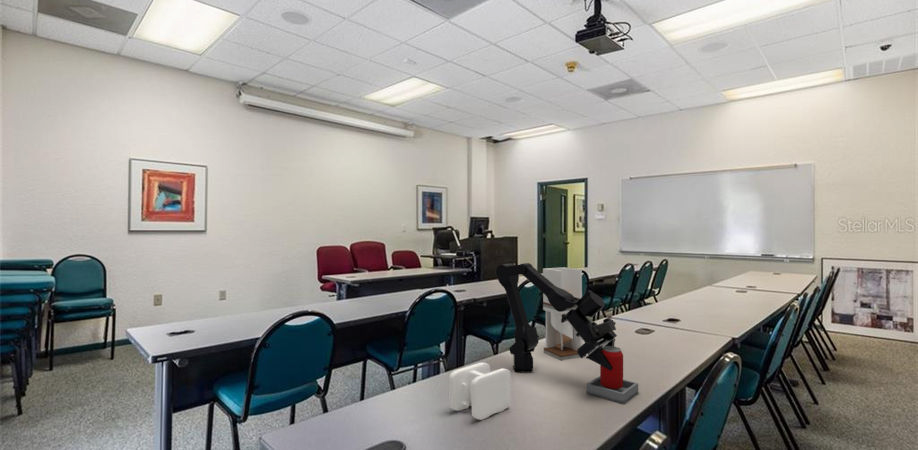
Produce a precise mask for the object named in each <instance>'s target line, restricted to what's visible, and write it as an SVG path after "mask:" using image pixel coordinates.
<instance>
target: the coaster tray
mask: <svg viewBox="0 0 918 450" xmlns="http://www.w3.org/2000/svg"><path fill="white" fill-rule="evenodd" d="M585 385H586V390H585V391H586V395H589V396H594V397H596V398H600V399H604V400H607V401H611V402H614V403H618V404H621V405H624V404H626V403H627V402H628V401H630V400H632V398H634V397H635V396H637V394H639V382H634V381H632V380H631V381H630V380H627V379H623V387H622V388H620V389H618V390H611V389H607V388H605V387H604V386H602V385H601V383H600V375H599V376H597V377H595V378H594V379H593V380H591V381H589V382H587V383H586V384H585Z"/></svg>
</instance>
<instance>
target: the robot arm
mask: <svg viewBox="0 0 918 450" xmlns="http://www.w3.org/2000/svg"><path fill="white" fill-rule="evenodd" d="M520 275H522V276H524V277H523V278H526V279H527V280H528V281H529V282H530V283H531V284H532V285H533V286H534V287H536V288H537V289H538V290H540V292H541V293H542V294H543V293H544V294H545V295H546V297H547V298H548V301H549V303H550V304H551V305H552V306H553V308H554V309H555V310H557V311H559V312H563V311H566V310H569V309H571V310H570V311H569V312H568V313H567V314H562V319H561V322H562V323H563V322H566V321H568V322H569V323H570V324H571V325H572V327H573V328H574V329H575V330H576V332H577V334H576V336H577V337H579V336H580V337H581V338H582V341H583V343H582V346H581V347H579V348H578V349H577V354H578V355H579V356H580V357H579V358H580V359H583V358H585V359H587V360H589V361H591V362H594V363H595V364H598V365H599V366H600V365H601V366H603V367H605V368H607V369H608V370H612V369H613V367H612V366H611V364H610V363H609V361H608V359H607V358H606V356H605V355H604V353H603V347H605V346H614V347H615V341H616V337H618V335H617V334H616V333H615V332H614V331H617V328H616V321H614V319H612V318H610V317H607V318H604V319H603V321H602V322H601V323H599V324H598V323H597V322H596V321H591V320H590V319H589V317H590V318H593V317H594V316H595V315H596V314H597V313H599V312H600V311H601V310H602V309H603V308H604V307H605V306H606V305H605V301H604V299H603V298H602V297H601V296H599V295H598V294H597V293H594V292H593V291H592V290H587V291H586V292H585V293H584V294H583V295H582V298H581V299H580V298H576V297H574V296H573V295H572V294H570V293H569V292H567V291H565V290H564V289H561V288H558V287H556V286H555V285H554V284H552V283H551V282H550V281H549V280H548V279H547V278H545V277H544V276H543V273H541V272H540V271H539V270H537V269H536V268H535V267H534V266H533V265H532V264H531V263H530V262H525V263H520V264H514V263H505V264H500V265H498V266H497V267H496V269H495V276H496V278H497V281H498V283H499V284H500V285H501V286H502V287H503V289H504V291H505V294H506V297H507V301H508V304H509V308H510V312H511V315H512V319H513V322H514V326H515V328H514V329H515V331H514V343H513V344H512V345H511V346H510V347H509V348H508V349H509V353H510V354H511V355H512V356H513V358H512V359H513V360H512V361H513V362H512V363H513V364H512V368H513V372H514V373H534V372H533V370H534V357H533V356H532V352H534V351H535V348H536V347H537V346H538V344H539V338H540V336H539V335H538V332H537V327H536V326H533V327H532V326H531V324H530V322H529V321H528V320H529V319H528V317H527V313H526V311H525V306H524V303H523V300H522V297H521V296H522V295H521V293H520V289H519V286H518V284H519V279H520V277H519V276H520ZM576 306H578V307H577V308H576V309H575V310H574V309H572V308H573V307H576Z"/></svg>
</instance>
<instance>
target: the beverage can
mask: <svg viewBox="0 0 918 450" xmlns="http://www.w3.org/2000/svg"><path fill="white" fill-rule="evenodd" d="M603 353H604V355H605V356H606V358H607V359H608V361H609V363H610V364H611V366H612V367H613V369H612V370H608V369H607V368H605V367H603V366H601V365H600V364H599V366H600V367H599V368H600V369H599V370H600V372H599V373H600V375H599V376H600V383H601V385H602V386H604V387H605V388H607V389H611V390H618V389H620V388H622V387H623V380H624V353H623V352H622V349H621V348H620V347H617V346H615V345H614V346H605V347H603Z"/></svg>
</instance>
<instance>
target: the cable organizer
mask: <svg viewBox="0 0 918 450" xmlns="http://www.w3.org/2000/svg"><path fill="white" fill-rule="evenodd" d="M490 369H491V367H490V365H489V364H488V363H486V362H483V361H482V362H478V363H475V364H472V365H471V364H470V365H468V366H465V367H462V368H459V369H458V368H457V369H455V370H452V372H451V373H450V374H449V378H448V385H449V387H448V391H449V392H448V393H449V394H448V397H449V398H448V399H449V400H448V403H449V405H448V406H449V408H450V409H451V410H453V411H458V412H459V411H463V410H466V409H467V410H469V407H471V415H472V417H473V418H474V419H476V420H480V421H483V420H485V419H487V418H489V417H490V416H492V415H494V414H499V413H501V412H503V411H505V410H506V409H507V408H508V407H509V406H510V404H511V371H510V370H509V369H506V368H502V367H501V368H499V369H496V370H493V371H491V370H490Z"/></svg>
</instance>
